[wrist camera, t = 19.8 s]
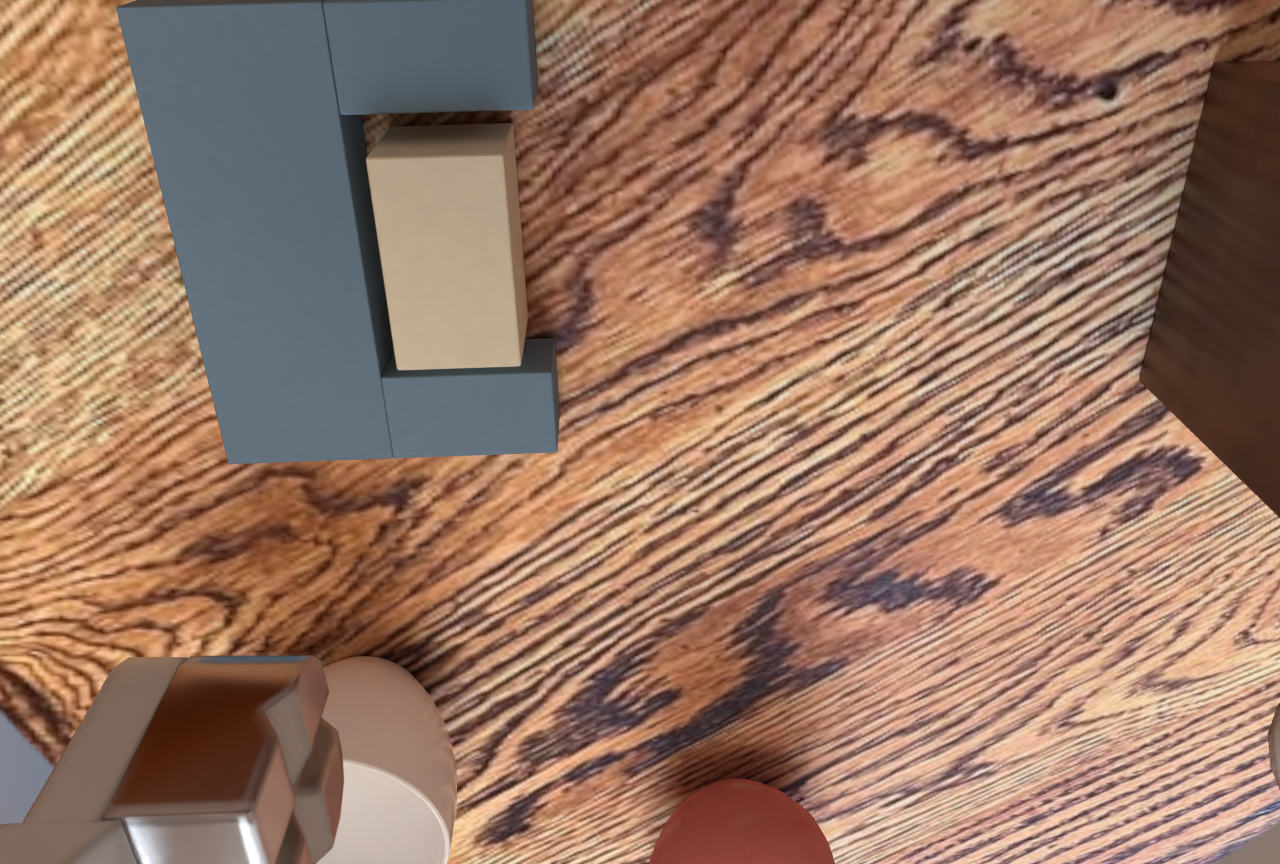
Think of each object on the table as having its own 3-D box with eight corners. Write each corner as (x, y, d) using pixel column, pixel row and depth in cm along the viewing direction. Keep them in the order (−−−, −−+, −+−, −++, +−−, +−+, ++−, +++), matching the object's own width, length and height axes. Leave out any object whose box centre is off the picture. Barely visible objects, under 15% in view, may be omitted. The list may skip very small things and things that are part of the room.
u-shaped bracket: (153, -6, 28) (115, 6, 26) (531, -16, 28) (526, -5, 26) (251, 425, 34) (228, 464, 32) (559, 414, 34) (557, 452, 32)
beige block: (388, 126, 30) (364, 157, 27) (513, 122, 30) (503, 153, 27) (415, 322, 32) (396, 371, 29) (528, 319, 33) (521, 367, 29)
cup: (446, 786, 42) (422, 938, 36) (192, 737, 40) (123, 888, 35) (493, 643, 39) (474, 786, 33) (216, 582, 37) (144, 721, 31)
